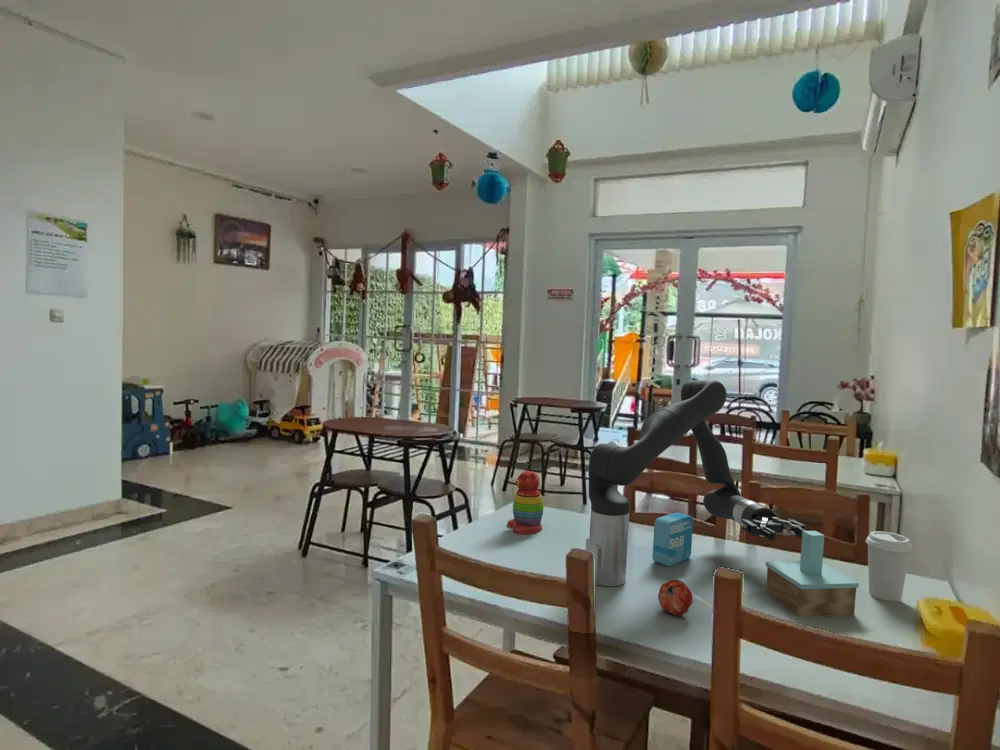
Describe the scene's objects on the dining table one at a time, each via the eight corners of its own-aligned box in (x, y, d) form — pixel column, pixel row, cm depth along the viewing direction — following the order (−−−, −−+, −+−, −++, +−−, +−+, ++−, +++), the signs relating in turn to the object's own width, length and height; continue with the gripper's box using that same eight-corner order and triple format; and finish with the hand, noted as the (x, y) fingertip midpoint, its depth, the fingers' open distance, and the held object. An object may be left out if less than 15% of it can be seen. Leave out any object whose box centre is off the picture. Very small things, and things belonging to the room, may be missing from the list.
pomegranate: (664, 612, 144) (642, 594, 138) (682, 585, 145) (661, 565, 140) (690, 629, 137) (668, 611, 132) (708, 600, 139) (687, 581, 134)
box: (799, 620, 137) (801, 588, 136) (765, 595, 150) (767, 566, 149) (853, 618, 139) (856, 587, 138) (815, 593, 152) (817, 565, 151)
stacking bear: (505, 524, 198) (507, 467, 197) (536, 522, 200) (539, 467, 199) (514, 535, 187) (517, 475, 186) (547, 533, 190) (549, 475, 189)
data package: (666, 567, 165) (668, 522, 164) (651, 562, 169) (654, 518, 168) (691, 558, 173) (693, 515, 173) (676, 553, 177) (679, 511, 176)
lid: (801, 592, 136) (804, 543, 135) (765, 569, 150) (768, 524, 149) (858, 591, 138) (862, 542, 138) (818, 568, 152) (821, 523, 151)
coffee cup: (908, 610, 144) (914, 546, 143) (860, 600, 149) (865, 537, 148) (908, 596, 152) (913, 535, 151) (862, 587, 157) (867, 527, 156)
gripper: (729, 503, 166) (764, 521, 150) (779, 502, 168) (819, 521, 152) (727, 531, 166) (762, 552, 150) (777, 530, 169) (817, 551, 153)
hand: (791, 536), depth 151 cm, fingers open, 8 cm apart
